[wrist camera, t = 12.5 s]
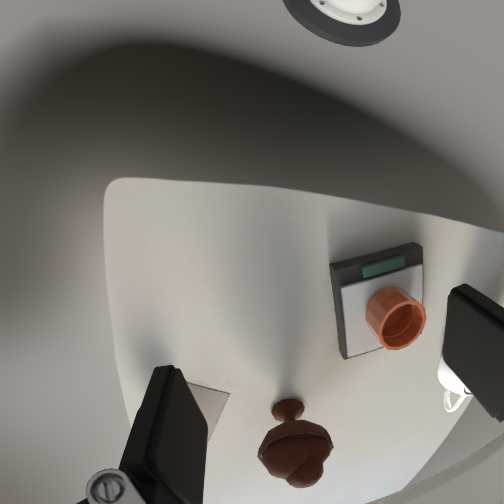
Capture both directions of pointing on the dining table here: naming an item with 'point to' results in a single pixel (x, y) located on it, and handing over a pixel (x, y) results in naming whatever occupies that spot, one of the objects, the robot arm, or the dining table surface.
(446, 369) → the teapot
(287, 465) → the ice cream bowl
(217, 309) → the dining table surface
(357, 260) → the scale
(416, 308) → the dip bowl
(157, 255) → the dining table surface
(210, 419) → the platform
